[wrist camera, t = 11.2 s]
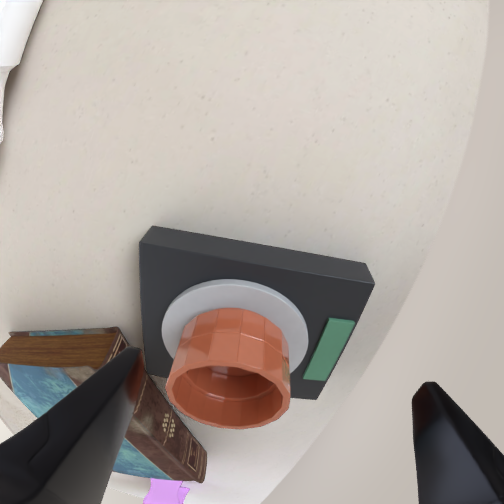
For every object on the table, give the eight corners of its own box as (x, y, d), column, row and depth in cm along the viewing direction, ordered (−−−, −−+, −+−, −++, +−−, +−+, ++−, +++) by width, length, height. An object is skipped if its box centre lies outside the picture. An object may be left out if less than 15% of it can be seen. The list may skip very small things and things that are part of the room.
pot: (309, 345, 19) (315, 402, 15) (237, 387, 22) (231, 438, 18) (230, 283, 17) (220, 340, 13) (163, 339, 20) (144, 391, 16)
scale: (365, 262, 20) (378, 289, 17) (314, 378, 26) (317, 405, 23) (151, 225, 19) (134, 247, 17) (154, 352, 25) (144, 379, 22)
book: (209, 451, 34) (204, 483, 30) (102, 441, 37) (93, 467, 32) (122, 325, 24) (99, 370, 19) (7, 331, 26) (-15, 360, 22)
